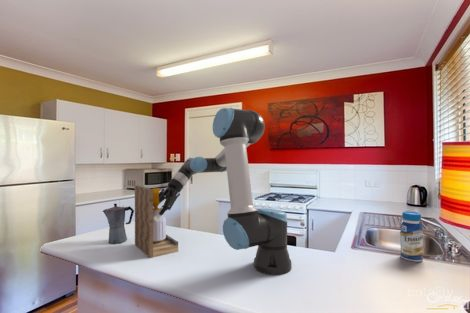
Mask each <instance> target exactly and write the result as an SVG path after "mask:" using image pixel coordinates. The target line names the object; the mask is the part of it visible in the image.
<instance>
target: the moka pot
mask: <svg viewBox="0 0 470 313" xmlns="http://www.w3.org/2000/svg"><path fill="white" fill-rule="evenodd" d="M126 211H130V215H129V220H128V222H125V219H126V218H125V217H126ZM102 212H103V214H104V216H105V217H106V219H107V222H108V226H109V231H108V243H109V244H111V245H113V244H121V243H124V242H126V241H127V240H128V238H127V233H126V229H125V225H131V222H132V219H133V216H134V214H135V209H133V207H132V206H130V205H129V206H118V203H113V207H110V208H105V209H104V210H102Z"/></svg>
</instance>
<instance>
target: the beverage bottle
mask: <svg viewBox="0 0 470 313" xmlns="http://www.w3.org/2000/svg"><path fill="white" fill-rule="evenodd" d="M401 216H402V217H401V218H402V222H401V225H400V229H401V230H400V232H399V234H400V258H402V259H404V260H406V261H409V262H416V263H417V262H422V261H423V259H424V254H423V253H424V245H423V244H424V233H423V231H424V228H423V226H422V224H421V223H420V222H421V221H422V215H421V213H420V212H416V211H409V210H408V211H407V210H406V211H402V215H401Z"/></svg>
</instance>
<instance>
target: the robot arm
mask: <svg viewBox="0 0 470 313" xmlns="http://www.w3.org/2000/svg"><path fill="white" fill-rule="evenodd" d="M265 125H266V124H265V120H264V118H263V116H262V115H261V114H260V113H258V112H257V111H255V110H249V109H241V108H240V109H239V108H232V107H222V108H220V109H218V110H217V112H216V113H215V116H214V118H213V122H212V133H213V135H214V137H216V138H218V139H219V144H220V145H221V146H223V149H222V150H221V151H220V152H219V153H218V154H217V155H216V156H215V157H205V158H204V157H203V156H197V157H196V156H195V157H188V158H187V159H186V160H185V161H184V163H183V164H182V165H181V166H180V168H179V169H178V171H176V173H175V174H174V175H173V176H172V178H171V179H170V180H169V181H168V183H167V186H168V187H167V188H166V189H164V188H161V190H160V192H159V202H161V203H162V202H163V201H164V202H163V203H164V204H163V205H161V207H159V208H160V209H159V211H158V212H157V213H156V215H155V216H154V217H153V219H154V220H155V221H156V222H157V221H158V220H159V219H160V217H161V216H162V215H164V214H165V212H166V211H171V209H172V208H173V206H174V204H175V202H176V201H177V199H178V198H179V197H180V195H181V194H180V193H181V191H182V190H183V188H184V187H186V185H187V183H188V182H189V181H190V180H191V178H192V177H193V175H195V174H201V173H204V174H206V173H223V172H224V173H225V172H226V174H227V175H226V176H227V183H228V193H229V202H230V209H229V211H228V212H227V218H225V219H224V220H223V223H222V224H223V225H222V232H223V237H224V239H225V241H226V243H227V244H228V246H229V247H230V248H232V249H233V250H237V251H238V250H247V249H248V248H253V247H257V250H256V253H255V257H254V259H253V268H254V269H255V270H256V271H258V272H260V273H262V274H266V275H283V274H286V273H289V272H291V270H292V267H293V266H292V259H291V258H290V254H289V250H288V218H287V217H288V216H287V213H286V212H285V211H284V210H280V209H275V208H274V209H273V208H264V207H263V208H257V207H256V206H254V203H253V202H254V200H253V194H252V193H253V192H252V186H251V185H252V184H251V177H250V176H251V175H250V169H249V167H250V166H249V160H248V152H247V148H248V147H249V146H250V145H253V144H256V143H257V142H258V141H260V139H261V138H262V136H263V135H264V133H265V128H266V127H265ZM153 208H154V206H153Z"/></svg>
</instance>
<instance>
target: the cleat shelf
mask: <svg viewBox="0 0 470 313" xmlns="http://www.w3.org/2000/svg"><path fill="white" fill-rule="evenodd" d="M152 189H153V188H148V187H145V186H142V185H137V184H136V185H134V245H135V246H136V247H137V248H138V249H139V250H140V251H141V252H143V254H145V255H146V256H147V257H148V258H149V259H151V258H155V257H156V258H157V257H160V256H164V255H169V254H173V253H178V252H179V241H178V240H176V239H174V238H172V237H171V236H170V235H168V234H166V238H165V239H164V240H161V241H156V242H153V190H152Z"/></svg>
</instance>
